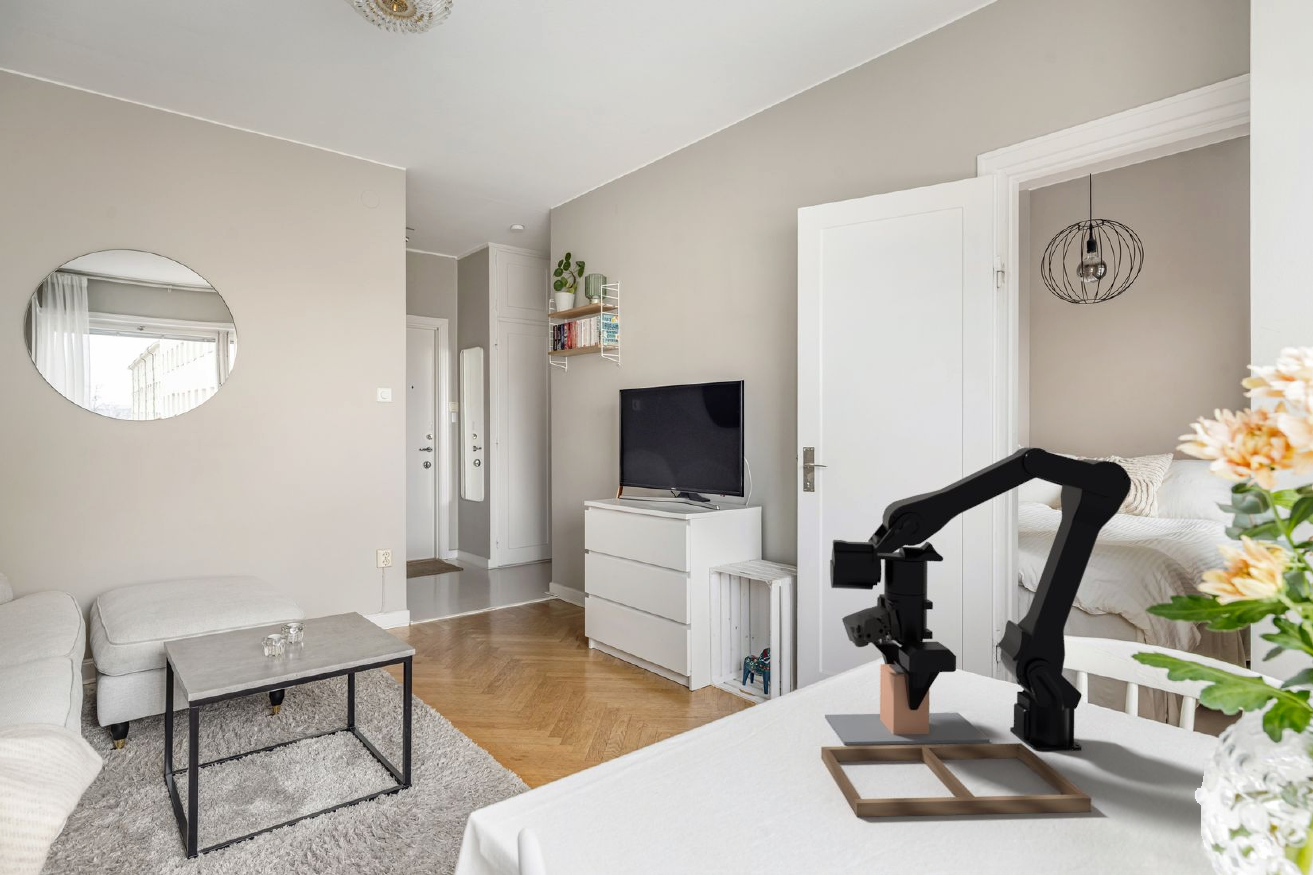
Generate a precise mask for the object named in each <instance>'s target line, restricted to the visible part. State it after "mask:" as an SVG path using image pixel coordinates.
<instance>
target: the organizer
mask: <svg viewBox="0 0 1313 875" xmlns="http://www.w3.org/2000/svg"><path fill="white" fill-rule="evenodd" d="M820 750H821V752H820V754H821V755H820V756H821V758H820V759H821V760H822V762H823V764H824V765H825V767H826V768H827V770H828V772H829V774H830V775H831V777H832V779H833V780H834V782H835V783H836V785H837V786H838V788H839V790H840V792H841V793H842V795H843V797H844V798H845V800H846V802H847V803H848V805H849V806H850V808H851V810H852V811H853V813H854V815H855V816H856V818H857V817H858V818H859V817H862V818H863V817H901V816H903V817H904V816H905V817H907V816H945V815H987V814H989V815H991V814H992V815H993V814H994V815H995V814H997V815H999V814H1032V813H1033V814H1034V813H1035V814H1036V813H1037V814H1039V813H1043V814H1044V813H1078V812H1080V813H1081V812H1082V813H1083V812H1084V813H1085V812H1092V811H1091V808H1092V798H1091V797H1090V796H1089V795H1088V794H1087V793H1085V792H1084V791H1083V790H1081V789H1080V788H1079V787H1077V786H1076V785H1075V784H1074V783H1073V782H1072V781H1071V780H1069V779H1067V778H1066V777H1065V776H1063V775H1062V774H1061V772H1059V771H1057V770H1056V769H1054V768H1053V767H1052V766H1051V765H1049V764H1048V763H1047V762H1046V761H1044V760H1043V759H1042V758H1041V757H1039V756H1038V755H1037V754H1035V753H1034V752H1033V751H1032V750H1030V749H1029V748H1028V747H1027V746H1025V744H1023V743H1020V742H1019V743H952V744H911V745H910V744H895V745H860V746H859V745H843V746H821V748H820ZM1016 758H1018V759H1020V760H1021V762H1023V763H1024V764H1026V765H1027V766H1028V767H1029V768H1030V769H1032V771H1034V772H1035V773H1036V774H1038V775H1039V776H1040V777H1041V778H1042V779H1044V780H1045V781H1046V782H1047V783H1048V784H1049V785H1051V786H1052V787H1053V788H1055V790H1057V791H1058V792H1059V793H1061V794H1044V795H1043V794H1042V795H1041V794H1040V795H1038V794H1037V795H1034V794H1033V795H993V796H990V795H988V796H987V795H986V796H984V795H983V796H975V795H974V794H973V793H972V792H971V791H970V790H969V788H967V787H966V786H965V785H964V784H963V783H962V782H961V781H960V780H959V778H958V777H956V776H955V775H954V773H952V771H951V770H950V769H949V768H948V767H947V766H946V765H945V764H944V763H943V762H942V761H941V760H958V759H960V760H962V759H963V760H964V759H965V760H971V759H972V760H973V759H976V760H977V759H1016ZM912 760H913V761H916V760H917V761H918V760H921V761H922V762H923V763H924V764H925V765H926V766H927V767H928V768H929V769H930V771H931V772H932V773H933V774H934V775H935V776H936V778H938V779H939V780H940V782H941V783H943V785H944V786H945V787H946V788H947V789H948V791H950V792H951V793H952V795H953V796H940V797H937V796H936V797H901V798H900V797H898V798H897V797H896V798H895V797H894V798H889V797H888V798H887V797H886V798H862V797H861V795H860V794H859V793H858V791H857V790H856V788H855V787H854V785H853V783H852V782H851V780H850V778H848V776H847V774H846V772H845V771H844V769H843V768H842V767H841V765H840V764H839V762H849V761H850V762H851V761H852V762H853V761H854V762H855V761H856V762H859V761H861V762H863V761H868V762H869V761H912Z"/></svg>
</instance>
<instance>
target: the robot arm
mask: <svg viewBox="0 0 1313 875" xmlns="http://www.w3.org/2000/svg"><path fill="white" fill-rule="evenodd" d="M1033 479H1039V480H1043V481H1045V482H1048V483H1051V484H1055V485H1058V486H1061V492H1060V508H1061V519H1060V523H1059V526H1058V529H1057V532H1056V534H1055V536H1054V540H1053V542H1052V546H1051V548H1050V550H1049V554H1048V556H1047V559H1046V562H1045V564H1044V568H1043V570H1042V573H1041V576H1040V577H1039V582H1038V585H1037V586H1036V589H1035V593H1034V596H1033V598H1032V601H1031V604H1030V606H1029V610H1028V611H1027V614H1026V615H1025V616H1024V617H1023V618H1022V619H1021V620H1020V621H1019V622H1018V623H1016V622H1014V621H1012V620H1010V619H1008V620H1007V621H1006V624H1005V630H1004V634H1003V637H1002V639H1001V640H1000V641H999V642H998V643H997V647H999V649H1001V650H1000V660H1001V663H1002V664H1003V666H1004V668H1005V669H1006V670H1007V671H1008V672H1009V673H1010V674H1011V675H1012V676H1013V677H1014V679H1015V681H1016V684H1017V685H1018V686H1020V687H1021V688H1022V689H1023V690H1022V691H1017V692H1016V703H1015V702H1014V705H1013V726H1011V727H1010V728H1009V732H1010V733H1011V734H1013V735H1015V736H1016V737H1017V738H1018V739H1019V740H1020V741H1022V742H1023V743H1025V744H1026V745H1027V746H1029V747H1030V748H1031V749H1032V750H1034V751H1037V752H1061V751H1064V752H1065V751H1066V752H1067V751H1068V752H1069V751H1082V750H1083V746H1082V745H1081V744H1079V743H1078V742H1077V741H1075V710H1076V709H1077V708H1078V705H1079V703H1080V702H1081V701H1080V700H1081V699H1082V696H1083V695H1082V693H1081V692H1080V691H1079V690H1078V689H1077V688H1076V687H1075V686H1074V685H1073V684H1072V683H1071V682H1070V681H1069V680H1068V679H1067V678H1066V677H1065V676H1064V675H1063V672H1064V664H1065V660H1066V659H1065V658H1066V649H1065V648H1066V647H1065V646H1066V645H1065V626H1066V625H1067V621H1068V618H1069V616H1070V613H1071V610H1072V608H1073V604H1074V602H1075V600H1076V596H1077V594H1078V591H1079V588H1080V585H1081V582H1082V581H1083V578H1084V575H1085V572H1086V570H1087V567H1088V563H1089V560H1090V558H1091V555H1092V553H1093V550H1094V547H1095V544H1096V541H1097V538H1098V536H1099V534H1100V532H1101V530H1102V529H1103V527H1105V526H1106V525H1107V524H1108V523H1109V521H1111V519H1112V518H1114V516H1116V515H1117V514H1118V512H1119V510H1120V509H1121V507H1122V505H1123V503H1124V502H1125V500H1126V498H1127V496H1128V495H1129V493H1130V491H1131V486H1132V479H1131V477H1130V476H1129V474H1128V472H1127V470H1126V469H1125V468H1124V467H1123V466H1122V465H1121V464H1118V463H1116V462H1115V461H1114V462H1113V461H1109V460H1100V459H1089V458H1085V459H1075V458H1073V457H1072V458H1071V457H1068V456H1063V455H1060V454H1056V453H1054V452H1053V453H1052V452H1049V451H1047V450H1045V449H1043V448H1040V447H1029V446H1028V447H1027V446H1025V447H1021V448H1019V449H1016V451H1015V452H1014V453H1012V454H1011V455H1009V456H1006V457H1004V458H1002V459H1000V460H998V461H996V462H994V463H992V464H990V465H988V466H985V467H984V468H981V469H980V470H978V471H976V472H974V473H971V474H969V475H968V476H965V477H963V478H961V479H958V480H957V481H955V482H952V483H951V484H948V485H946V486H945V487H943V488H940V489H937V490H934V491H933V490H932V491H930V492H925V493H920V494H917V495H916V494H915V495H912V496H910V497H905V498H902V499H899V500H895V501H893V502H891V503H890V504H888V505H887V506H886V507H885V509H884V511H883V514H882V523H880V525H879V526H878V528H876V530H875V531H874V532H873V534H872V535H871V537H870V538H869V539H868V541H846V540H843V539H833V540H832V549H831V559H830V560H829V574H830V575H829V576H830V577H829V579H830V586H831V589H846V590H847V589H848V590H849V589H851V590H873V589H874V586H878V584H880V583H881V582H882V581H881V580H882V560H884V563H883V564H884V570H883V571H884V572H883V573H884V577H883V578H884V580H883V581H884V582H883V583H884V584H883V586H884V587H883V589H884V590H883V593H884V594H883V593H880V594H878V596H877V602H876V605H875V606H872V607H869V608H864V609H862V610H859V611H856V612H853V613H850V614H848V615H845V616H844V617H842V619H841V620H842V623H843V626H844V629H845V632H846V634H847V637H848V640H849V641H850V642H852V643H853V644H854V646H855V647H857V648H864V647H866V646H869V644H872V645H873V646H874V647H875V648H876V649H877V650H878V651H879V652H880V654H881V655H882V659H883V662H884V664H896V665H897V666H898V667H899V668H900V669H901V670H902V671H903V672H904V677H905V684H906V692H907V700H908V706H909V709H910V710H918V708H919V706H920V705H921V703H922V701H923V699H924V697H925V696H926V694H927V692H928V690H929V691H930V688H931V687H932V685H933V683H934V682H935V680H936V679H937V677H938V676H939V674H940V673H955V672H956V670H957V655H956V654H954V652H953V651H951V650H950V649H949V648H948V647H946V646H945V645H944V644H942V643H940V642H939V641H924V640H933V637H934V636H933V635H934V634H933V631H932V630H930V629H929V628H928V610H934V606H933V605H934V604H933V601H932V600H930V599H928V562H938V563H939V562H943V561H944V557H943V555H942V554H940V553H939V552H938V551H936V549H935V548H934V545H933V544H932V543H931V542H929V541H927V540H928V539H929V538H931V537H933V536H934V535H935V534H937V533H938V532H939V531H941V530H942V529H943V528H944V527H945V526H946V525H947V524H948V523H949V522H950V521H952V520H953V519H954V518H956V517H957V516H959V515H960V514H962V513H964V512H966V511H969V510H971V509H973V508H976V507H977V506H980V505H982V504H983V503H985V502H987V501H989V500H991V499H995V497H998V496H1000V495H1002V494H1004V493H1006V492H1009V491H1011V490H1013V489H1015V488H1017V487H1020V486H1021V485H1024V484H1025V483H1027V482H1029V481H1032V480H1033ZM924 542H925V543H924ZM922 543H923V545H921V544H922ZM918 545H921V546H918Z"/></svg>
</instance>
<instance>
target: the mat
mask: <svg viewBox="0 0 1313 875" xmlns="http://www.w3.org/2000/svg"><path fill="white" fill-rule="evenodd" d="M824 718H825V720H826V721H827V723H828V724H829V726H830V727H831V728H832V730H833V731H834V733H835V734H836V735H837V737H838V738H839V740H840V741H841V742H842V744H843V746H859V745H860V746H869V745H910V744H911V745H928V744H986V743H991V740H990V738H989V737H988V736H986V735H985V734H984V733H983V732H982V731H981V730H979V729H978V728H976V726H974V725H973V724H972V723H971V722H970V721H968V720H967V718H965V717H964V716H963V715H962V714H960V713H959V712H929V734H892V732H891V731H890V730H889V729H888V728H887V727H886V726H885V724H884V723H883V722H882V721H881V720H880V713H859V714H858V713H855V714H854V713H853V714H852V713H850V714H847V713H846V714H843V713H842V714H841V713H840V714H824Z"/></svg>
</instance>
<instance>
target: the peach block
mask: <svg viewBox="0 0 1313 875" xmlns="http://www.w3.org/2000/svg"><path fill="white" fill-rule="evenodd" d="M879 673H880V677H879V678H880V681H879V682H880V685H879V686H880V687H879V688H880V690H879V691H880V694H879V696H880V697H879V714H880V720H881V721H882V722H883V723H884V724H885V726H886V727H887V728H888V729H889V730H890V731H891V732H892V734H929V713H930V689H929V690H928V692H927V694H926V696H925V697H924V699H923V701H922V703H921V705H920V706H919V708H918V710H910V709H909V706H908V700H907V692H906V684H905V677H904V672H903V671H902V670H901V669H900V668H899V667H898V666H897V665H896V664H885V663H884V664H880V672H879Z"/></svg>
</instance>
